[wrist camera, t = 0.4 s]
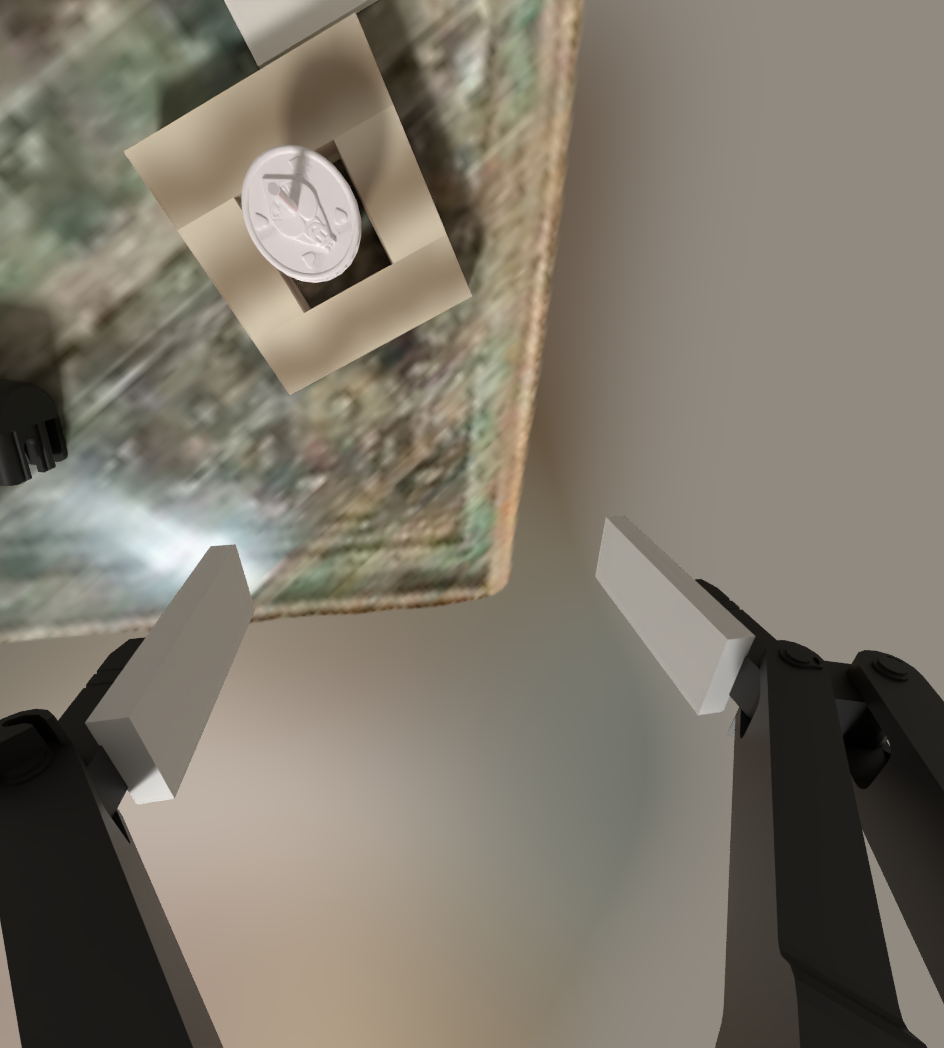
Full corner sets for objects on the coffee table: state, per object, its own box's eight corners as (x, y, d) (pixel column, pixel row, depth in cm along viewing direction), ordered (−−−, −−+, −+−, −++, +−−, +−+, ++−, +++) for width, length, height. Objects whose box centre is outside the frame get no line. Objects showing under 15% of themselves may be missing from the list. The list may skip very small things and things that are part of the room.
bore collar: (156, 170, 29) (123, 151, 26) (360, 49, 28) (355, 12, 24) (299, 386, 37) (289, 395, 33) (464, 297, 36) (472, 296, 32)
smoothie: (313, 164, 30) (259, 66, 18) (386, 239, 33) (381, 199, 21) (263, 241, 32) (181, 199, 19) (336, 307, 34) (304, 306, 22)
